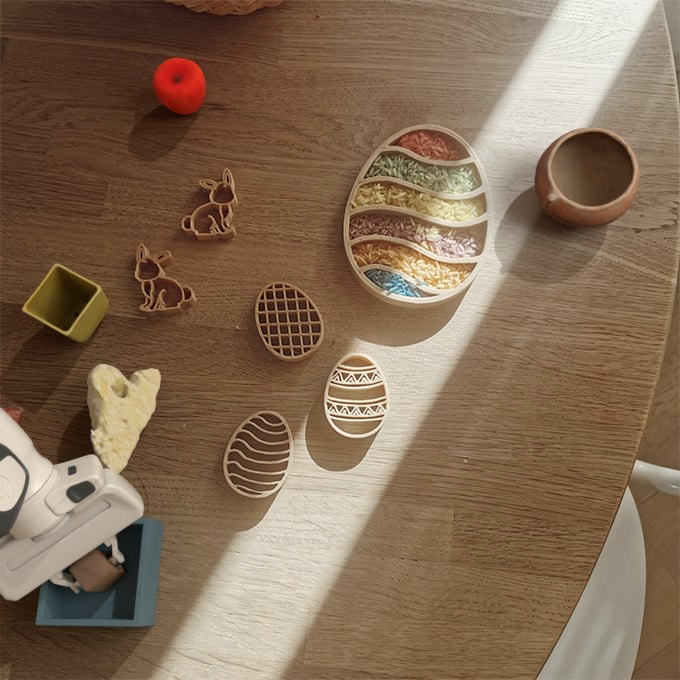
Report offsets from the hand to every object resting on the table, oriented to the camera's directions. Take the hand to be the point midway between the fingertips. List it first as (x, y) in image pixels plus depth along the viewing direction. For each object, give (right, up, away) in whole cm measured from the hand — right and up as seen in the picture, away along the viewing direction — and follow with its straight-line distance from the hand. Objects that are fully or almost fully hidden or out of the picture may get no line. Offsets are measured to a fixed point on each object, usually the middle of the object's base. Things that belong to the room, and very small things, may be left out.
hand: (100, 574), depth 97 cm
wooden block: (0, -1, +4) cm, 5 cm away
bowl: (+71, +55, +22) cm, 92 cm away
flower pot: (-9, +34, +19) cm, 40 cm away
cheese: (+1, +18, +12) cm, 22 cm away
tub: (0, -1, +5) cm, 5 cm away
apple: (+5, +73, +32) cm, 80 cm away
